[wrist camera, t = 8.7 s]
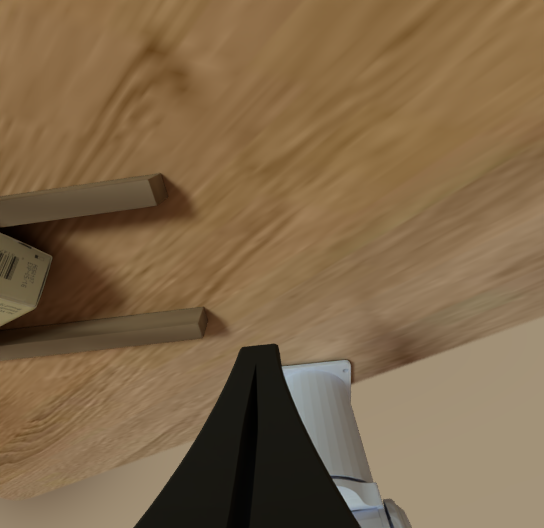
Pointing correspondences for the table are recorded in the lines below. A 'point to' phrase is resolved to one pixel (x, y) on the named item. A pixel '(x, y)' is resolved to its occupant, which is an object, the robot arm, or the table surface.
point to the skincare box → (20, 277)
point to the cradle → (101, 330)
